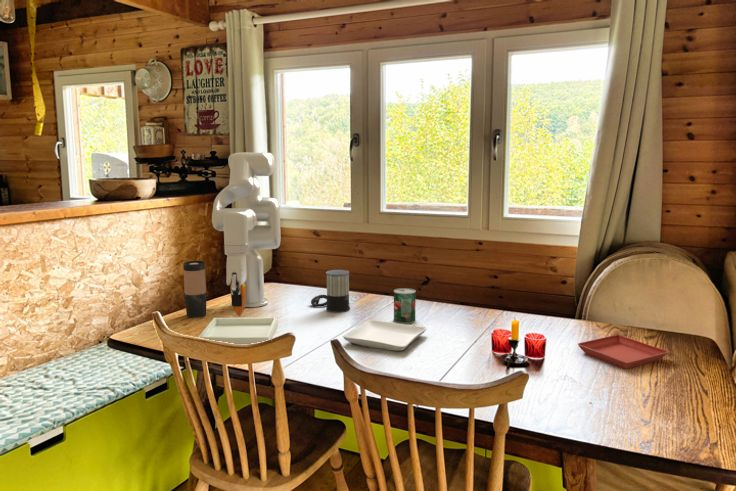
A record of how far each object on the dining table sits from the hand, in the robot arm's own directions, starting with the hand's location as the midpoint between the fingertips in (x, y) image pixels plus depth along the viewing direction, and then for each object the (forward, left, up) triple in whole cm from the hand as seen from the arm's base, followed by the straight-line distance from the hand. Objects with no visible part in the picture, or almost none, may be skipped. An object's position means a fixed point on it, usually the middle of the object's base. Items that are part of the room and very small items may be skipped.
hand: (238, 303), depth 187 cm
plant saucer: (+23, +117, -12) cm, 120 cm away
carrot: (0, 0, -5) cm, 5 cm away
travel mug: (-25, -21, -11) cm, 35 cm away
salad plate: (+6, +48, -12) cm, 50 cm away
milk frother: (-34, +28, -11) cm, 46 cm away
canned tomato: (-16, +56, -11) cm, 59 cm away
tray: (0, 0, -11) cm, 11 cm away
